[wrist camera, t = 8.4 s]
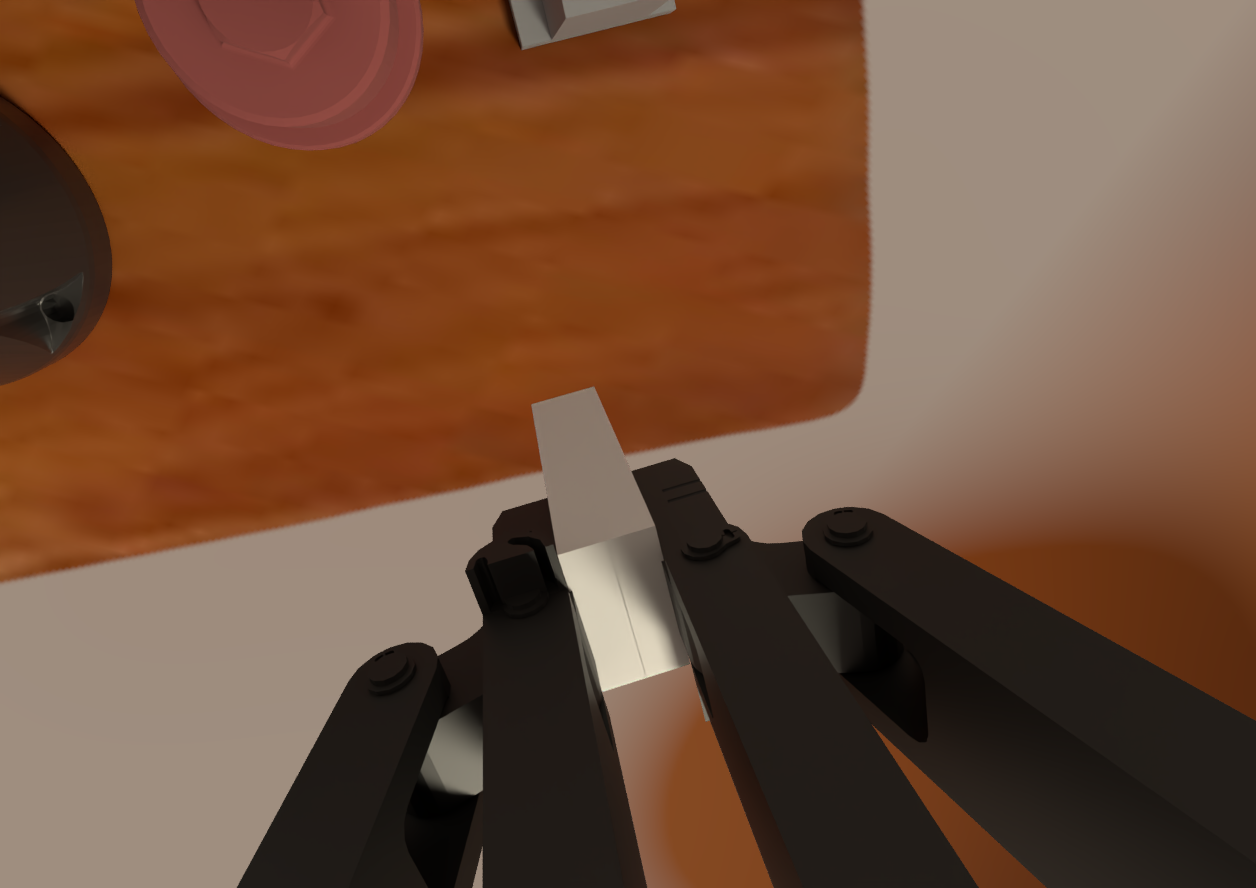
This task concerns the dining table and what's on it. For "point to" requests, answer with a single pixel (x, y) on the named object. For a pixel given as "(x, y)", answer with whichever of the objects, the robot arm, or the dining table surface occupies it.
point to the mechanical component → (292, 63)
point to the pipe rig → (578, 17)
